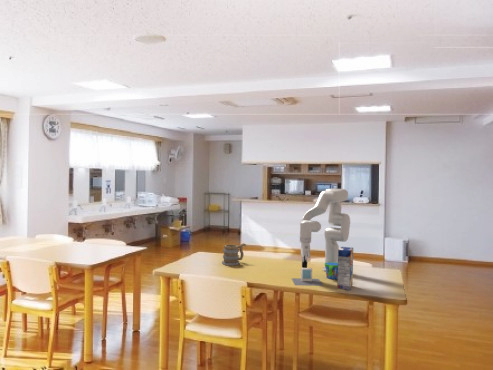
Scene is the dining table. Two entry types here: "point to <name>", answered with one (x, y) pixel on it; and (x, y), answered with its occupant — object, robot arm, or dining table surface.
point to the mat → (307, 282)
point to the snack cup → (331, 270)
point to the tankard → (232, 254)
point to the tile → (306, 274)
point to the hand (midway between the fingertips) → (304, 267)
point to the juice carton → (345, 268)
